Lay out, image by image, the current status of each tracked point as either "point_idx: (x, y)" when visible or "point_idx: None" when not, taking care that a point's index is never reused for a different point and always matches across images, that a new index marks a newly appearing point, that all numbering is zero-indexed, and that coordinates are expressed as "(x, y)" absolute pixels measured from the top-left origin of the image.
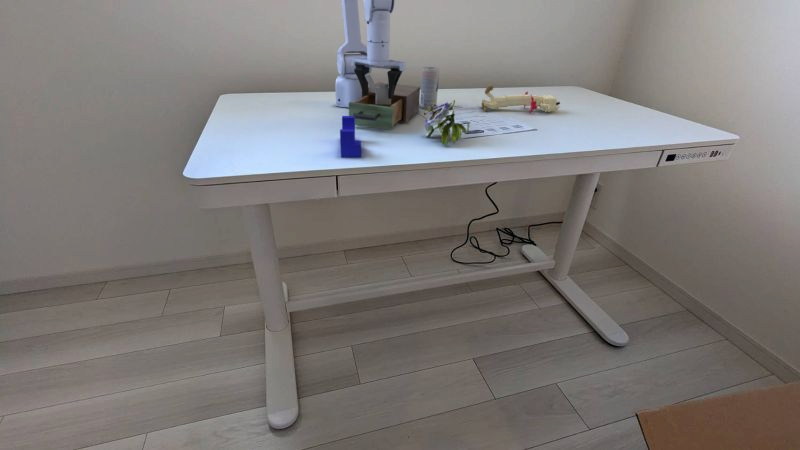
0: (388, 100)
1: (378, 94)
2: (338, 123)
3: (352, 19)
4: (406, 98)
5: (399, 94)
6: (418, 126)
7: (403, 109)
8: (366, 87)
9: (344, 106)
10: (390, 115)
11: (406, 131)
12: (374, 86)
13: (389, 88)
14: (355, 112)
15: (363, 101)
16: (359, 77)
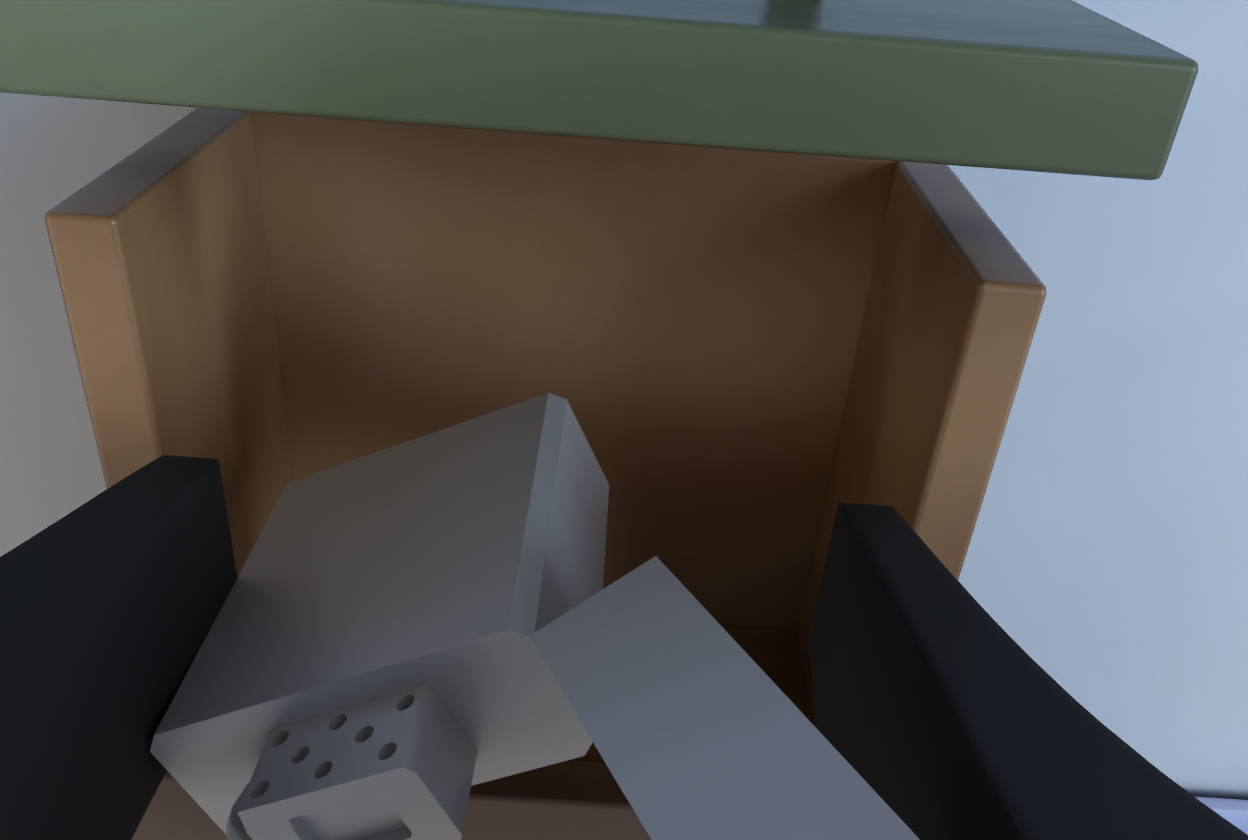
0: (301, 521)
1: (484, 535)
2: (1229, 132)
3: None
4: None
5: (225, 837)
6: (5, 404)
7: None
8: (857, 710)
9: (1222, 806)
10: None
11: (29, 116)
12: (566, 649)
13: (43, 587)
14: (942, 4)
15: None
16: (1163, 826)
